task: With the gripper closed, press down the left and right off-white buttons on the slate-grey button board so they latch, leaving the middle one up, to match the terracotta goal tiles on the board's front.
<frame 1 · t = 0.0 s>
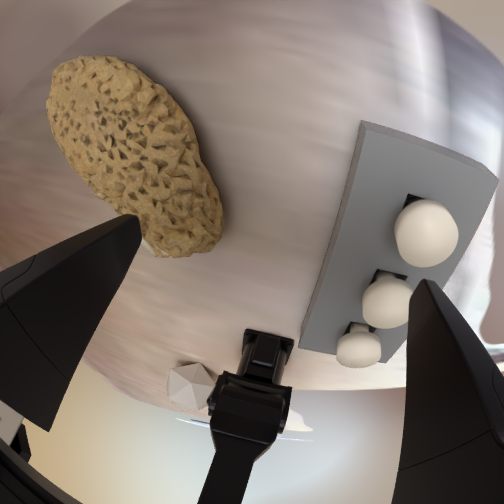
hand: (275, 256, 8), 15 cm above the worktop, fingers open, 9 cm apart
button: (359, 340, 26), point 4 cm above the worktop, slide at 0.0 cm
sponge: (146, 137, 23), on the worktop
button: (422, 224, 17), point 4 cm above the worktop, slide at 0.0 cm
board: (383, 262, 25), on the worktop
button middle: (387, 293, 22), point 4 cm above the worktop, slide at 0.0 cm
die: (198, 368, 48), on the worktop
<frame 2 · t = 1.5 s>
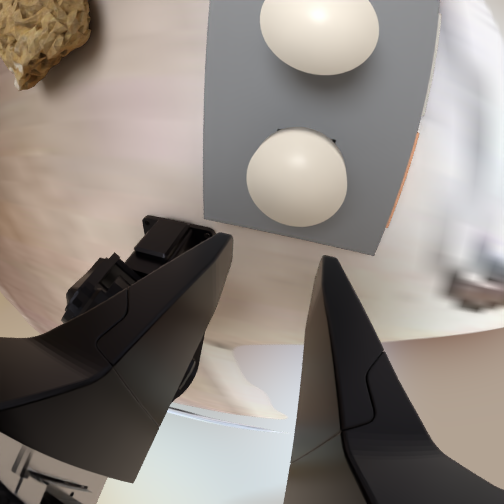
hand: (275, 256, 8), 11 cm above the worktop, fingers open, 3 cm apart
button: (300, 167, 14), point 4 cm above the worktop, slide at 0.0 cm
board: (322, 36, 12), on the worktop
button middle: (320, 28, 9), point 4 cm above the worktop, slide at 0.0 cm
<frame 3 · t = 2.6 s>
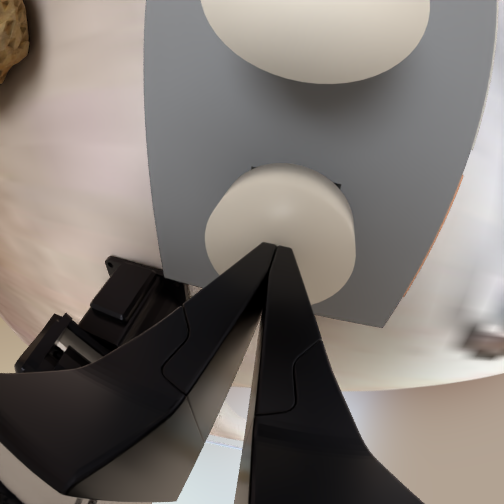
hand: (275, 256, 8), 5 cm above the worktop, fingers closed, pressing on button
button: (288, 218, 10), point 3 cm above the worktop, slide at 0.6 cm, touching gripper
board: (321, 21, 8), on the worktop
button middle: (317, 1, 5), point 4 cm above the worktop, slide at 0.0 cm
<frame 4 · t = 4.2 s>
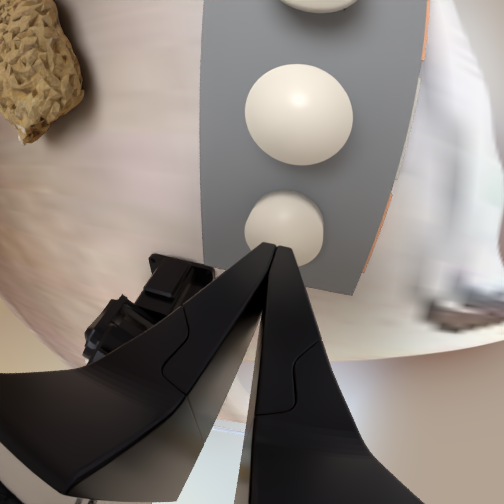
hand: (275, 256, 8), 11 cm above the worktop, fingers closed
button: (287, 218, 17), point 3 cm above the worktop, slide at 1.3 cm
sponge: (37, 41, 14), on the worktop
board: (307, 98, 15), on the worktop
button middle: (302, 108, 12), point 4 cm above the worktop, slide at 0.0 cm
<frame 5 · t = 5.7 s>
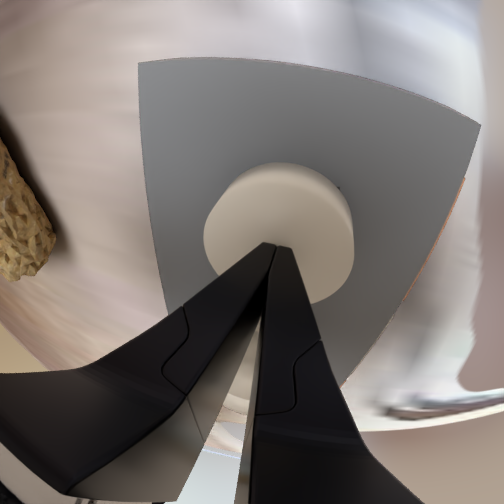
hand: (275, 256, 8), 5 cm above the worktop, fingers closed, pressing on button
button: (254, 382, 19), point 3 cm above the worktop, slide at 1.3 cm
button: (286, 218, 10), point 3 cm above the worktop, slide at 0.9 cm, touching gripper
board: (276, 291, 17), on the worktop
button middle: (260, 349, 14), point 4 cm above the worktop, slide at 0.0 cm
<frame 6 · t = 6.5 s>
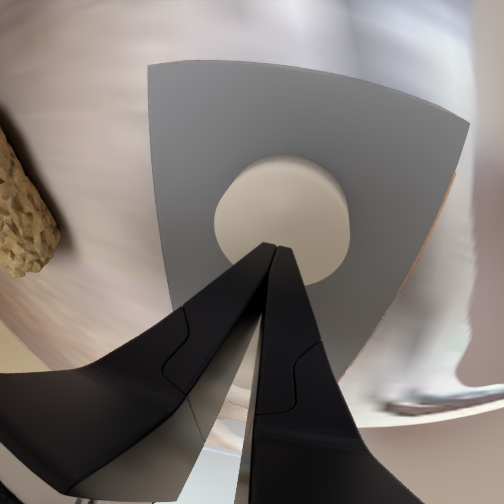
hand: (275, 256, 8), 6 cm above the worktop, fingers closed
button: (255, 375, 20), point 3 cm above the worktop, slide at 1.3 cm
sponge: (3, 156, 17), on the worktop
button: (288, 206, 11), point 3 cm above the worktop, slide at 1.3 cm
board: (276, 285, 17), on the worktop
button middle: (262, 339, 14), point 4 cm above the worktop, slide at 0.0 cm
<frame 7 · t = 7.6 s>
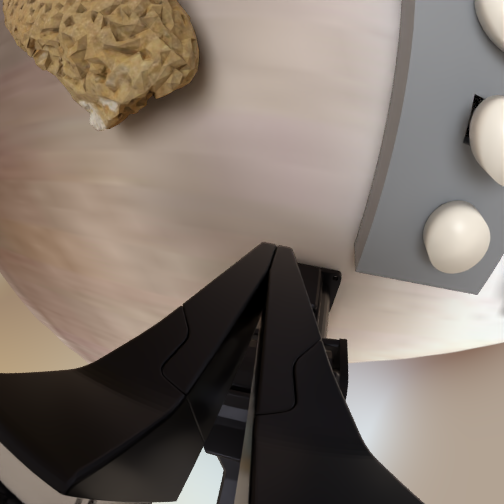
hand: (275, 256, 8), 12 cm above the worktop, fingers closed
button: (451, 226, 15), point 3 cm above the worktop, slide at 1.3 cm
sponge: (106, 7, 13), on the worktop
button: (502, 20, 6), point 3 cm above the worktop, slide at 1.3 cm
board: (468, 114, 12), on the worktop
button middle: (497, 133, 9), point 4 cm above the worktop, slide at 0.0 cm
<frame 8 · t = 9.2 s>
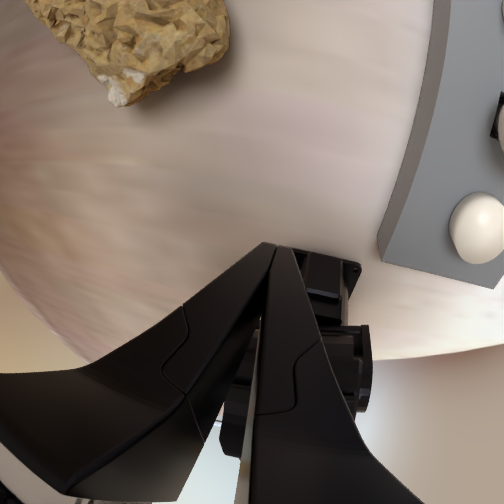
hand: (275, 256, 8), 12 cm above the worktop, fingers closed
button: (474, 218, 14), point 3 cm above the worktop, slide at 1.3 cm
board: (490, 112, 12), on the worktop
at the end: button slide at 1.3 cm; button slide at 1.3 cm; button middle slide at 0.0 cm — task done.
